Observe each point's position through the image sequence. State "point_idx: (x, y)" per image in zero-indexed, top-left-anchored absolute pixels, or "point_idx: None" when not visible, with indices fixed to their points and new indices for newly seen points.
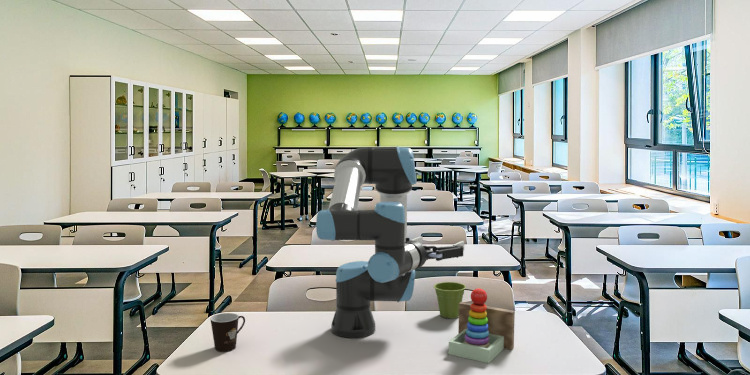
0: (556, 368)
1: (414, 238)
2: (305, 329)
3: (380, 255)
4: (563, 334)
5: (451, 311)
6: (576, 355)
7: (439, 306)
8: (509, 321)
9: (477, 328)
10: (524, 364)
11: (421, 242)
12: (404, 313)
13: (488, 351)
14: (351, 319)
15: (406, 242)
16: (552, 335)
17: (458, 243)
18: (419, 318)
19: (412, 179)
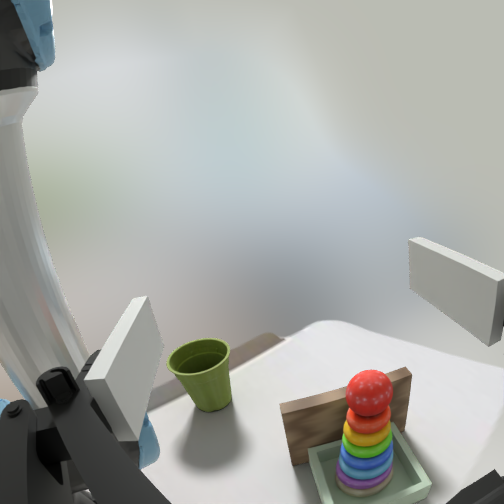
0: (498, 416)
1: (108, 338)
2: None
3: None
4: (401, 345)
5: (221, 398)
6: (471, 372)
7: (193, 398)
8: (404, 392)
9: (384, 459)
10: (465, 448)
11: (155, 334)
12: None
13: (429, 486)
14: None
15: (62, 435)
16: (396, 356)
17: (464, 257)
18: (169, 435)
19: (36, 9)
